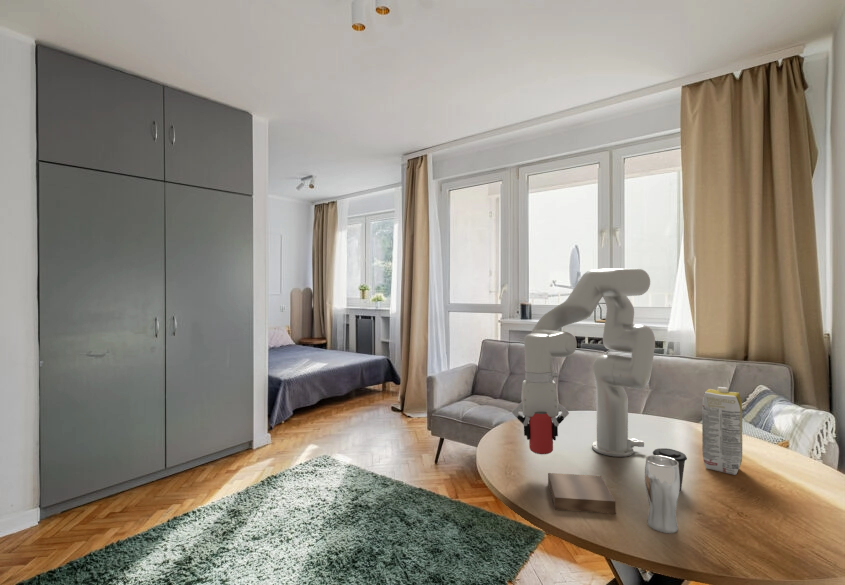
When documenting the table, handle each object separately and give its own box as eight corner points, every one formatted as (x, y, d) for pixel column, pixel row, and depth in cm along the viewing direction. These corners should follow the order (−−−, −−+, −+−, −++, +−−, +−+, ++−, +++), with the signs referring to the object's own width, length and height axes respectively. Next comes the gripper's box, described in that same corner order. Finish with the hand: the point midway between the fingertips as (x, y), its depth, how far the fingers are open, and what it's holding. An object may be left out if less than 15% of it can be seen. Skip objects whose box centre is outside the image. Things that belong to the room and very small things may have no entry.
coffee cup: (675, 497, 111) (675, 459, 111) (646, 485, 118) (645, 448, 118) (694, 490, 114) (693, 453, 114) (664, 478, 122) (664, 443, 121)
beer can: (554, 455, 120) (552, 413, 120) (530, 454, 122) (528, 412, 121) (552, 446, 127) (550, 406, 126) (529, 445, 128) (527, 405, 128)
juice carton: (743, 468, 127) (743, 388, 127) (739, 477, 122) (739, 393, 121) (706, 460, 134) (705, 383, 133) (700, 468, 128) (700, 388, 128)
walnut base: (601, 486, 117) (601, 475, 117) (615, 513, 103) (615, 501, 103) (548, 483, 119) (548, 472, 119) (555, 509, 106) (555, 497, 106)
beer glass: (638, 518, 101) (638, 455, 101) (666, 516, 102) (666, 453, 101) (657, 535, 94) (657, 467, 94) (687, 533, 95) (687, 466, 95)
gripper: (568, 373, 126) (569, 434, 126) (507, 374, 129) (509, 433, 129) (572, 379, 118) (574, 444, 119) (508, 380, 121) (510, 442, 122)
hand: (540, 437), depth 124 cm, fingers closed on beer can, 6 cm apart
